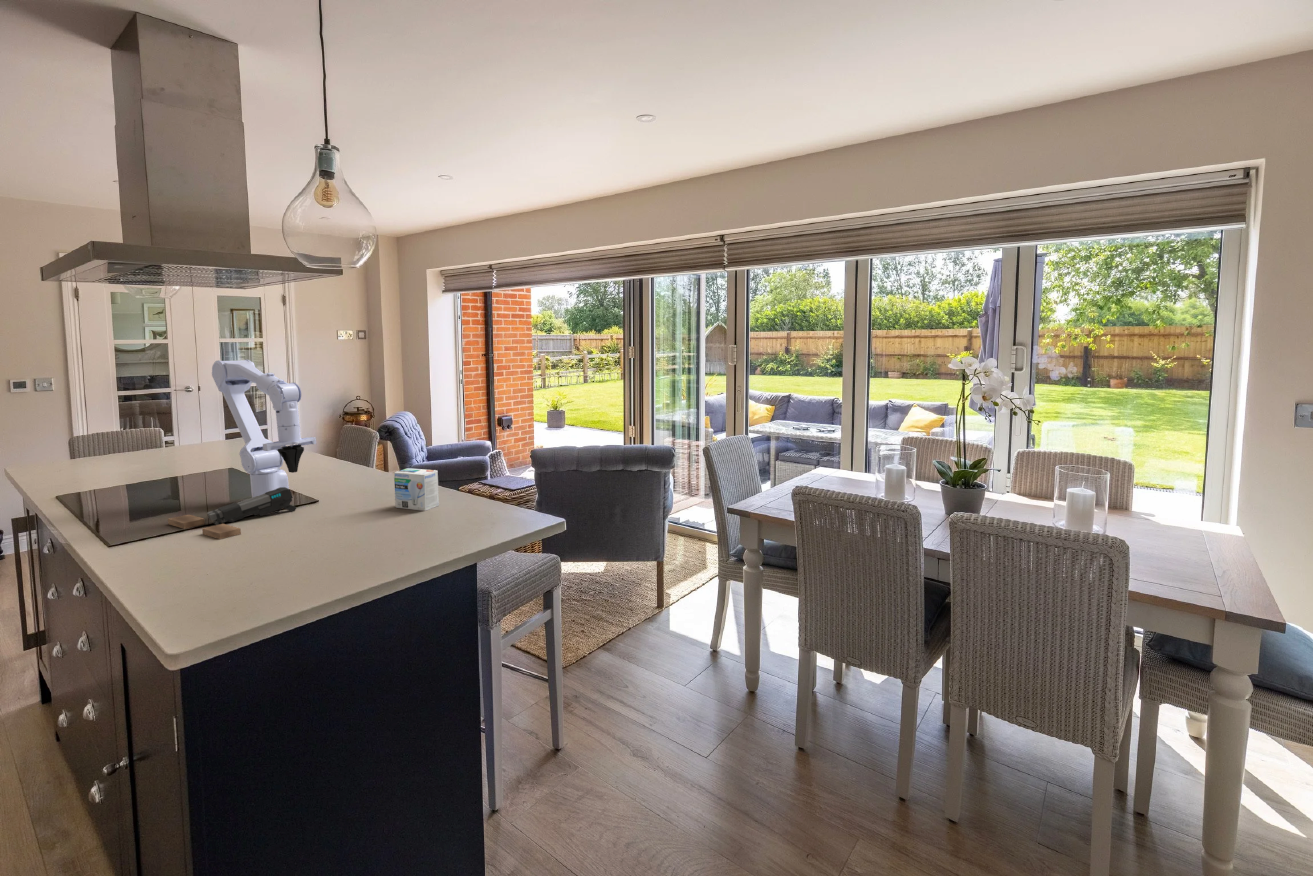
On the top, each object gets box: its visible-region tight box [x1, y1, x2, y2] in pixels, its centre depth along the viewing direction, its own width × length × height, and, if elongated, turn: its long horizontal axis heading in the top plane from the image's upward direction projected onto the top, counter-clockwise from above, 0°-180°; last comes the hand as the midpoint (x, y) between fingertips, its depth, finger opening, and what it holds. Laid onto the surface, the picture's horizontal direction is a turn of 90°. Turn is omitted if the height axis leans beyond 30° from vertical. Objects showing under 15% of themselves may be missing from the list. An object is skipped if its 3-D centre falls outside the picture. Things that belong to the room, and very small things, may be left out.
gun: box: [206, 487, 297, 525], centre depth 184 cm, size 4×20×10 cm, turn 137°
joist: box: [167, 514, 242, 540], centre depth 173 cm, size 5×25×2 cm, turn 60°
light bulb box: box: [393, 467, 440, 512], centre depth 196 cm, size 11×7×11 cm, turn 73°
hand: (293, 472), depth 194 cm, fingers closed
